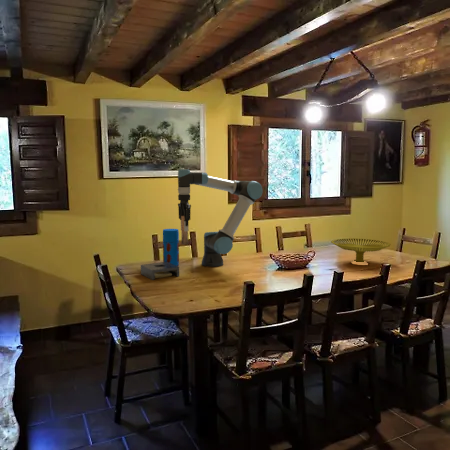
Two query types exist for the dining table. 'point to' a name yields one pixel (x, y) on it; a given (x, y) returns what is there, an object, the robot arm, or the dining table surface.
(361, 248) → the cake stand
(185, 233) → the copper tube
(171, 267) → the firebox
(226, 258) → the dining table surface
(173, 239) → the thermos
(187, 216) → the robot arm
